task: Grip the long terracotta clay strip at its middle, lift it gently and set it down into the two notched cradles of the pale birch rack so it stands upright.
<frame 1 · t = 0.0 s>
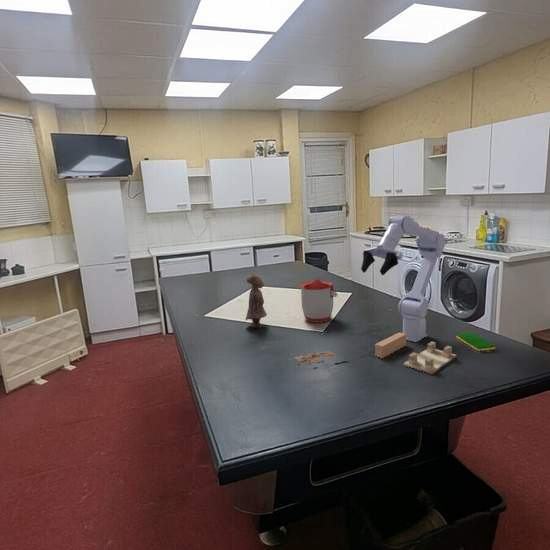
hand: (372, 272, 133), 32 cm above the table, tool tilted 50°, fingers open, 7 cm apart
clay figurine: (256, 326, 181), on the table
bark: (316, 362, 141), on the table
citrus juicer: (319, 319, 186), on the table
dish sponge: (474, 345, 148), on the table
clay strip: (390, 351, 146), on the table
birch rack: (430, 361, 136), on the table
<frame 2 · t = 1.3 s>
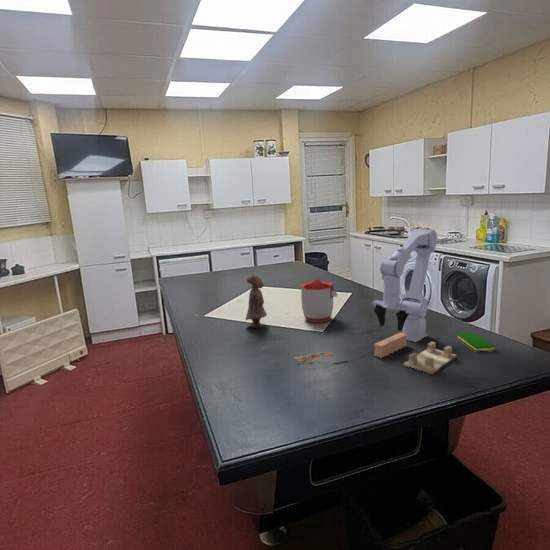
hand: (391, 327, 144), 9 cm above the table, tool pointing down, fingers open, 7 cm apart
nothing on the table moved.
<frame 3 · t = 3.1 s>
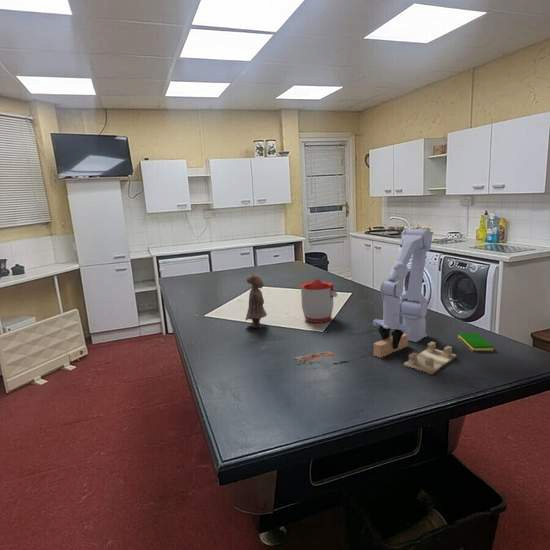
hand: (390, 346, 146), 2 cm above the table, tool pointing down, fingers closed on clay strip, 3 cm apart
clay strip: (390, 351, 146), on the table, touching gripper
everything else where it was.
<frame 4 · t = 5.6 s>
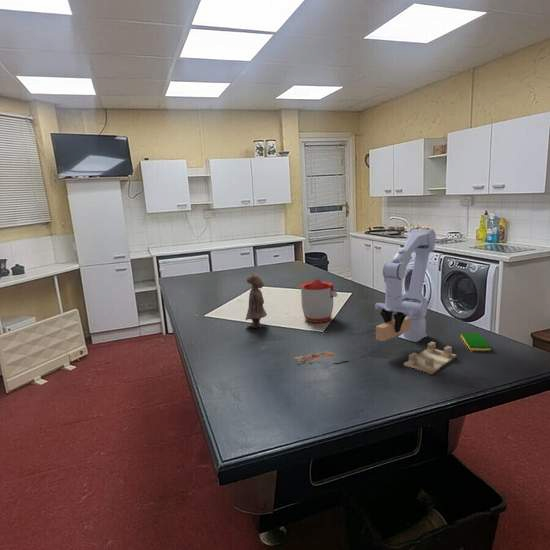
hand: (393, 330, 144), 8 cm above the table, tool pointing down, fingers closed on clay strip, 3 cm apart
clay strip: (393, 334, 144), point 7 cm above the table, touching gripper
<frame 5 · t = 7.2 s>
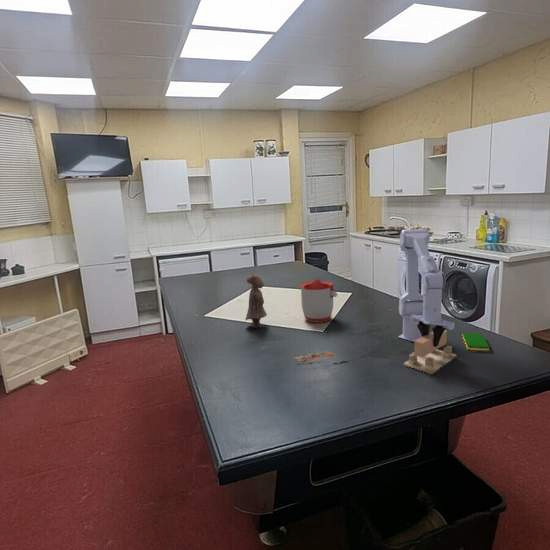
hand: (430, 344, 134), 6 cm above the table, tool pointing down, fingers closed on clay strip, 3 cm apart
clay strip: (430, 349, 135), point 5 cm above the table, touching gripper
when the fingers open (4 cm above the table, at t = 8.5 s): clay strip drops 1 cm, resting on birch rack.
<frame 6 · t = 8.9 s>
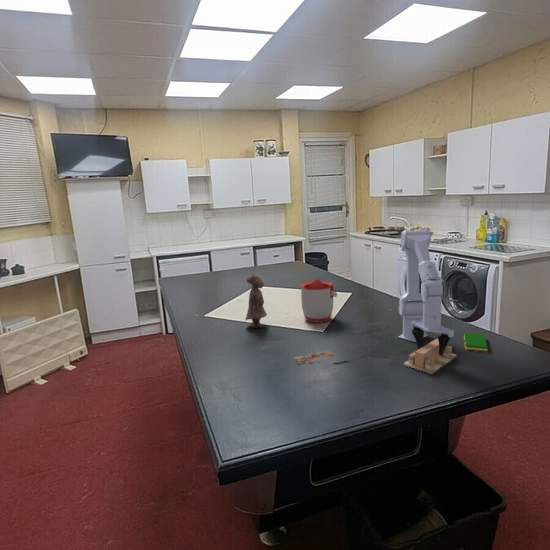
hand: (430, 351, 135), 4 cm above the table, tool pointing down, fingers open, 7 cm apart
clay strip: (430, 359, 135), point 1 cm above the table, touching birch rack
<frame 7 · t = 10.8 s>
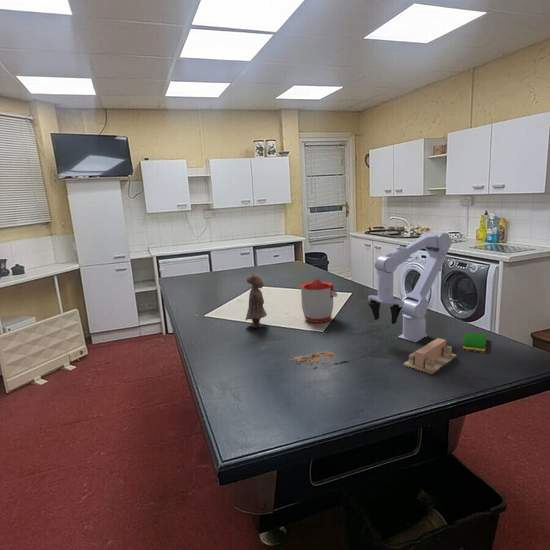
hand: (385, 321, 151), 9 cm above the table, tool pointing down, fingers open, 7 cm apart
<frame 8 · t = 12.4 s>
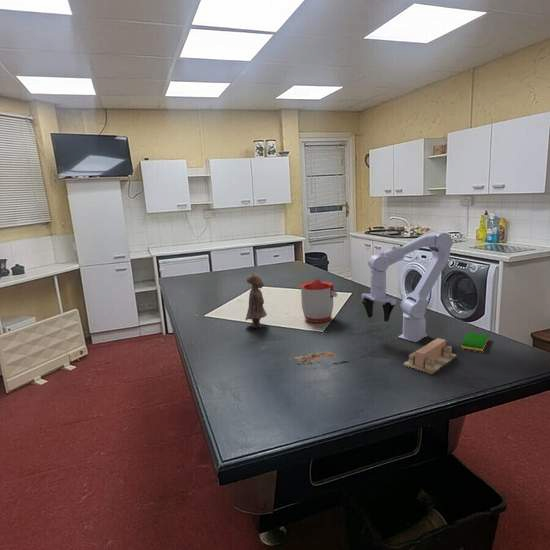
hand: (378, 318, 154), 9 cm above the table, tool pointing down, fingers open, 7 cm apart
at the end: clay strip 0.1 cm off-centre on the birch rack, point 1.0 cm above the birch rack's base; clay strip tilted 0°; the gripper is holding nothing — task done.
